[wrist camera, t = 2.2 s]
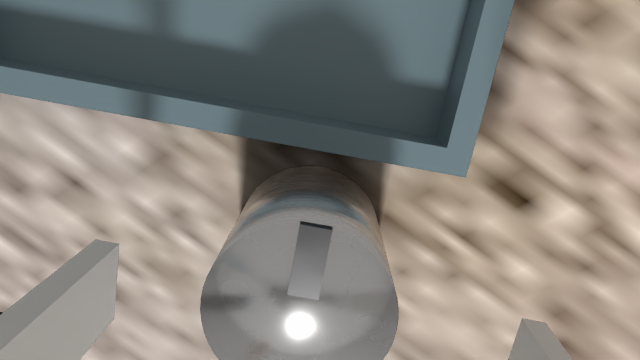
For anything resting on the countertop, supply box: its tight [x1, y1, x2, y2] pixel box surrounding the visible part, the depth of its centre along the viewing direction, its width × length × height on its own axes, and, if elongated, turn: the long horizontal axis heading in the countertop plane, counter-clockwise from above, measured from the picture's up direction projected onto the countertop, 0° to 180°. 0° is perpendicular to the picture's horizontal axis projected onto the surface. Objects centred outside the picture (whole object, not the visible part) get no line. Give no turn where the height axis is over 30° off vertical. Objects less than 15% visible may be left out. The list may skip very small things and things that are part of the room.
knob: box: [200, 166, 399, 360], centre depth 19 cm, size 6×6×7 cm
